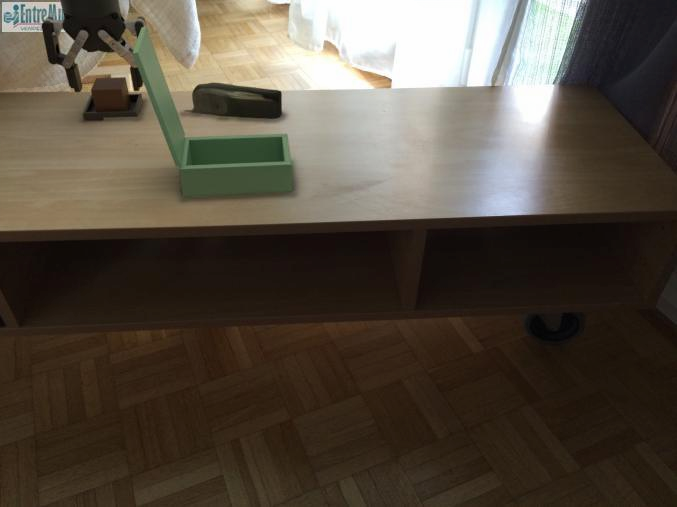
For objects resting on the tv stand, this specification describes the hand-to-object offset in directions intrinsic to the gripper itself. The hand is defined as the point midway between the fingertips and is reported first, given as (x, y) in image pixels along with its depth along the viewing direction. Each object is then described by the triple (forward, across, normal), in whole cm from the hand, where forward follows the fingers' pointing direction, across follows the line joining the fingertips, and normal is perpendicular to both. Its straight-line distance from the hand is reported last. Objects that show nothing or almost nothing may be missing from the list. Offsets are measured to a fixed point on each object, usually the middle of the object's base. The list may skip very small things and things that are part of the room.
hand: (108, 89), depth 92 cm
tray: (+4, 0, 0) cm, 4 cm away
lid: (-8, -11, +21) cm, 26 cm away
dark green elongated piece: (+4, -18, +2) cm, 19 cm away
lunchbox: (+4, -19, +21) cm, 29 cm away
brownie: (+4, 0, 0) cm, 4 cm away
